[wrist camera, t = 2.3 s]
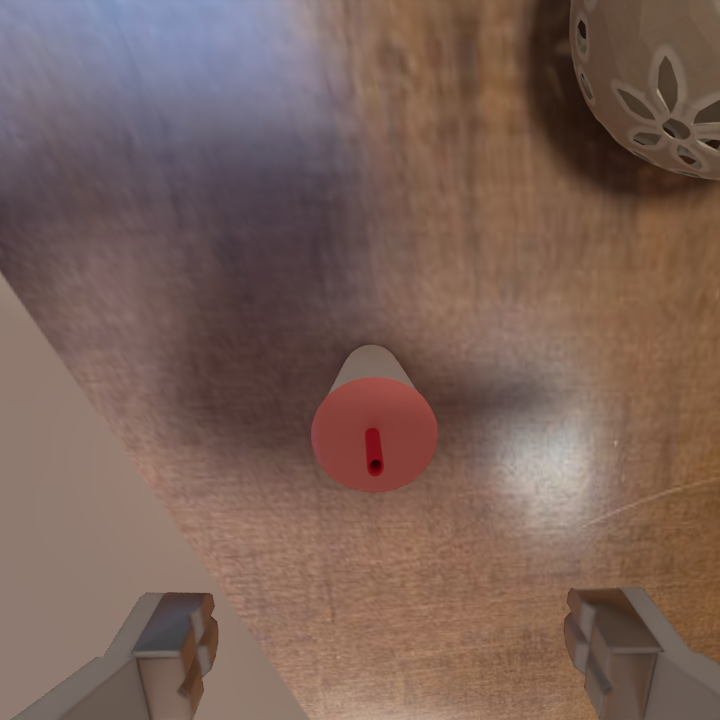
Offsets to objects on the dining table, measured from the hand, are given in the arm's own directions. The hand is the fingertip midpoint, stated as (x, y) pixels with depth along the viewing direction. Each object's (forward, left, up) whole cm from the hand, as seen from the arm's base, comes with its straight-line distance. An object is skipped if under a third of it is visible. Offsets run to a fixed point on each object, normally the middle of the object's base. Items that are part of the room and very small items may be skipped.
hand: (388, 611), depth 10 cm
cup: (0, 0, -18) cm, 18 cm away
